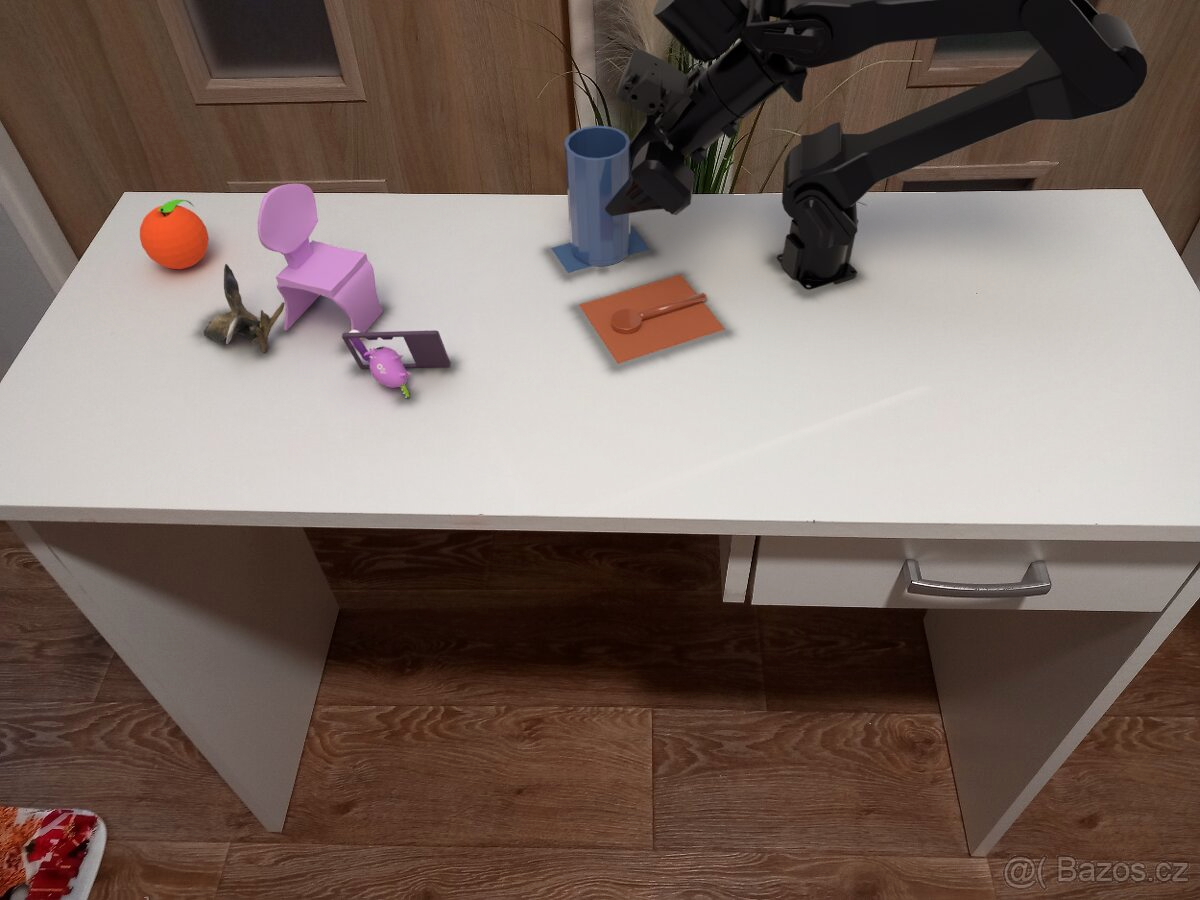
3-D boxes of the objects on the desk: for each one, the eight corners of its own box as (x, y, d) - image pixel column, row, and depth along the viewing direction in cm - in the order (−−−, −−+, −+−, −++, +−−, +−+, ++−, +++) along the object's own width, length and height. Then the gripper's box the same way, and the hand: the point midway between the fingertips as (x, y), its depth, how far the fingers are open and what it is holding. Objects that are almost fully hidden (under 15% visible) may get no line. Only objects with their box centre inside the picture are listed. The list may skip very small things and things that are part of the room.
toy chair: (350, 356, 91) (310, 231, 80) (277, 336, 94) (229, 212, 82) (392, 306, 96) (360, 182, 85) (322, 288, 99) (282, 165, 87)
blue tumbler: (641, 242, 102) (641, 135, 92) (610, 273, 98) (607, 166, 88) (591, 224, 104) (587, 119, 95) (560, 254, 101) (552, 148, 91)
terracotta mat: (680, 277, 98) (680, 274, 98) (724, 332, 92) (725, 329, 92) (579, 308, 95) (578, 304, 95) (617, 367, 89) (617, 363, 89)
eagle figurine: (306, 314, 94) (246, 272, 96) (267, 293, 87) (203, 248, 89) (266, 375, 94) (207, 331, 96) (223, 359, 87) (160, 312, 89)
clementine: (182, 235, 106) (158, 182, 101) (234, 243, 105) (212, 190, 99) (141, 276, 101) (114, 222, 96) (195, 285, 100) (171, 231, 94)
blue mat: (631, 229, 104) (631, 225, 104) (650, 252, 101) (650, 248, 101) (551, 251, 102) (551, 247, 102) (568, 276, 99) (567, 272, 99)
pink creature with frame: (438, 323, 84) (342, 325, 84) (435, 373, 82) (337, 375, 82) (451, 357, 90) (361, 359, 90) (448, 404, 88) (357, 406, 88)
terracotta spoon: (699, 290, 96) (699, 283, 95) (713, 308, 94) (713, 301, 93) (605, 319, 93) (605, 312, 93) (618, 337, 91) (618, 331, 91)
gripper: (680, -14, 88) (575, 90, 98) (656, 77, 76) (539, 185, 86) (753, 69, 93) (646, 160, 103) (742, 167, 81) (622, 259, 90)
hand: (615, 187), depth 95 cm, fingers open, 9 cm apart
